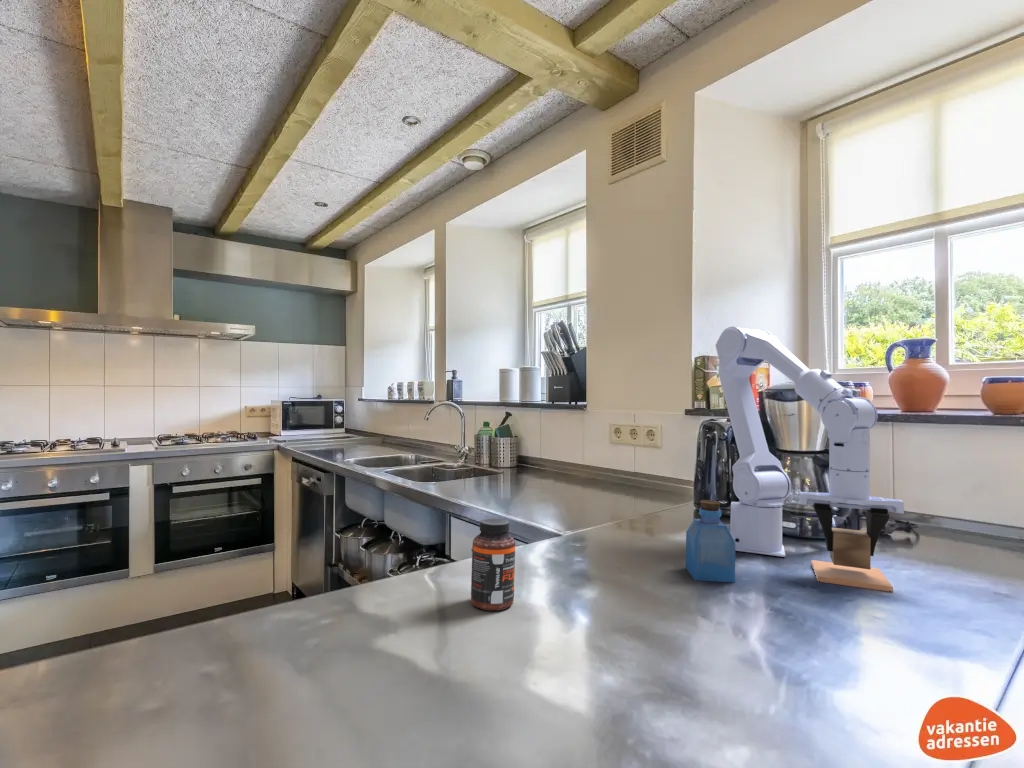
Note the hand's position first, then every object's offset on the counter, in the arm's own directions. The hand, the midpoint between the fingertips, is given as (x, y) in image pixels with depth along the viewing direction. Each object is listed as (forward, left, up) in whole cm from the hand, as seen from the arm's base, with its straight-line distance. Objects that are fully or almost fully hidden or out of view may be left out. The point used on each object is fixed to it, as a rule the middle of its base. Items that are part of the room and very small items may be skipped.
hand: (849, 552), depth 87 cm
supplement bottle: (-47, -38, -4) cm, 61 cm away
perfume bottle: (-21, -10, -4) cm, 24 cm away
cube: (0, 0, -2) cm, 2 cm away
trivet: (0, 0, -4) cm, 4 cm away
